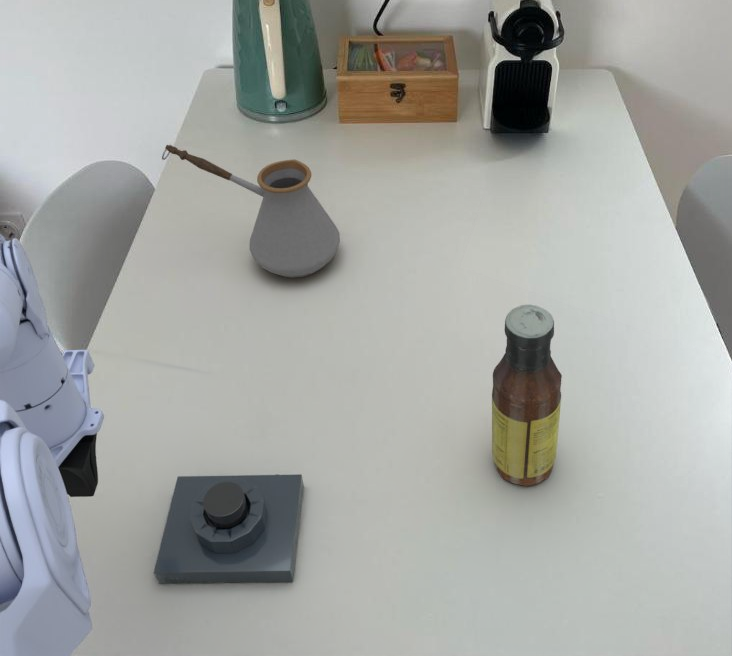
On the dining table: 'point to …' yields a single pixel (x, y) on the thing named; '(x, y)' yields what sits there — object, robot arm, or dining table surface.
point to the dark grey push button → (225, 505)
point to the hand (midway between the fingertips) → (84, 489)
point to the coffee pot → (283, 217)
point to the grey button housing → (232, 533)
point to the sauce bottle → (526, 399)
